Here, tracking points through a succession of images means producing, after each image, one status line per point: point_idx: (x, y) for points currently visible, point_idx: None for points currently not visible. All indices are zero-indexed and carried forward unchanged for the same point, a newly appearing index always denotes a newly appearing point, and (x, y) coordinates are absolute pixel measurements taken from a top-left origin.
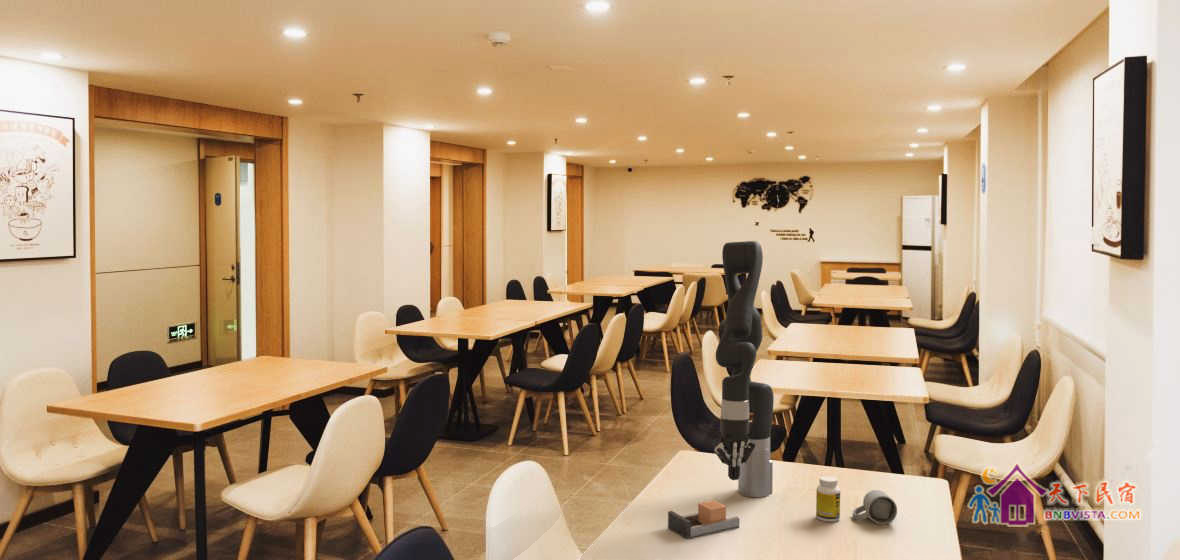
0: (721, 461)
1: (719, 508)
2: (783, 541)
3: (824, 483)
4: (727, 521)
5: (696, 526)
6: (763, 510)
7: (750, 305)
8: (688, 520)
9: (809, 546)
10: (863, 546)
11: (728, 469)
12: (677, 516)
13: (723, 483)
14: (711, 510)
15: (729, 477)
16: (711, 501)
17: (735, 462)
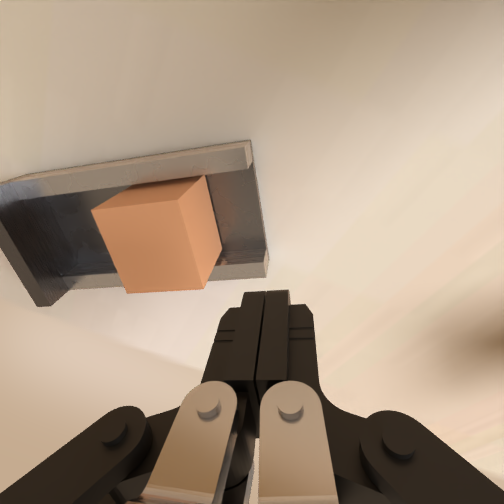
0: (84, 435)
1: (170, 289)
2: (328, 374)
3: None
4: (211, 279)
5: (90, 280)
6: (495, 140)
7: None
8: (44, 296)
9: (367, 412)
10: (487, 455)
11: (209, 361)
12: (6, 252)
13: None
14: (132, 290)
15: (244, 294)
16: (161, 212)
17: (241, 498)
